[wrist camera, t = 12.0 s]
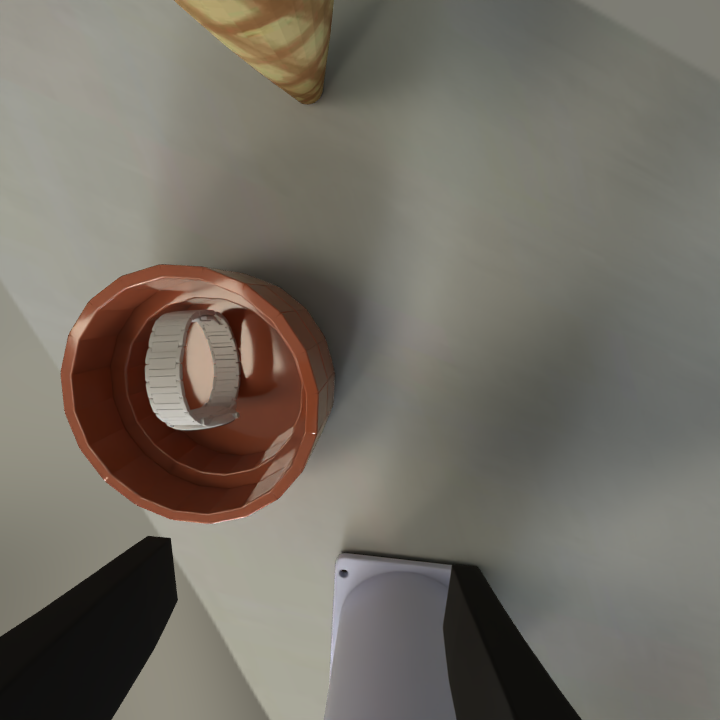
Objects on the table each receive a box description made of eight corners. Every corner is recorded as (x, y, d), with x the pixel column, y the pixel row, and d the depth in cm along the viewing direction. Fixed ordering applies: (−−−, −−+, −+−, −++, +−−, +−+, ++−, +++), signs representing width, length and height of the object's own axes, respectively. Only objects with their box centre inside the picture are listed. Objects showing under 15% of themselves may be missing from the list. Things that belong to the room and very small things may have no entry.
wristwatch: (207, 406, 18) (139, 447, 13) (194, 310, 17) (115, 315, 12) (261, 404, 18) (211, 446, 13) (250, 306, 17) (192, 310, 12)
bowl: (331, 479, 19) (313, 536, 14) (146, 461, 19) (74, 509, 15) (340, 279, 17) (323, 272, 12) (134, 268, 17) (47, 258, 13)
